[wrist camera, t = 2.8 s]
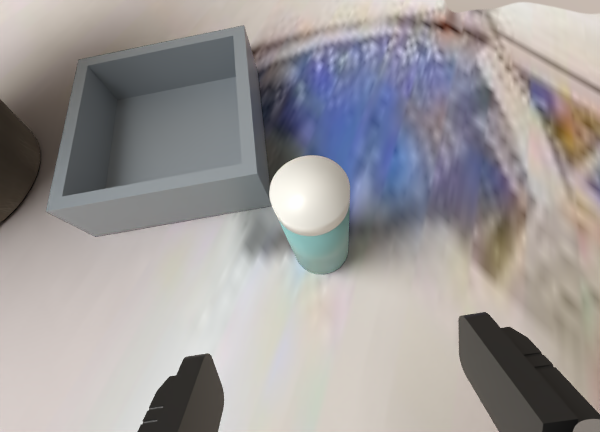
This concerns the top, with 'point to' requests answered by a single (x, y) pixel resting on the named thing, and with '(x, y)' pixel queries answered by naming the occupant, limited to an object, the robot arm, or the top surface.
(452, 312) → the top surface
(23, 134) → the waste basket
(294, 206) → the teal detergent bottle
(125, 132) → the slate bin
